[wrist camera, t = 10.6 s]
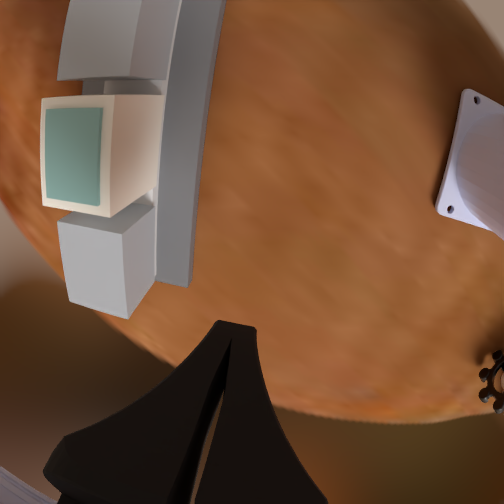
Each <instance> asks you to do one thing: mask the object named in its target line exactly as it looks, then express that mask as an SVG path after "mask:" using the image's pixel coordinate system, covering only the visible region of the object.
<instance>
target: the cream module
mask: <svg viewBox="0 0 504 504" xmlns="http://www.w3.org/2000/svg"><path fill="white" fill-rule="evenodd" d="M164 97H165V95H146V94H94V95H76V96H62V97H51V98H42V104H41V126H40V165H41V187H42V201H43V206H49V207H54V208H60V209H65V210H71V211H76V212H81V213H87V214H92V215H98V216H103V217H108V218H111V217H112V216H114V215H115V214H116V213H118V212H119V211H121V210H122V209H123V208H125V207H126V206H128V205H129V204H131V203H132V202H134V201H135V200H136V199H138V198H139V197H141V196H142V195H144V194H145V193H147V192H148V191H150V190H151V189H153V188H154V187H156V184H157V168H158V155H159V143H160V133H161V123H162V113H163V105H164Z"/></svg>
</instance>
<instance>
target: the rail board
mask: <svg viewBox="0 0 504 504" xmlns="http://www.w3.org/2000/svg"><path fill="white" fill-rule="evenodd" d="M225 5H226V0H70V4H69V8H68V13H67V17H66V22H65V28H64V33H63V39H62V45H61V51H60V58H59V66H58V75H57V81H64V80H83V88H82V95H94V94H146V95H165V97H164V105H163V113H162V123H161V133H160V143H159V155H158V168H157V184H156V187H154V188H153V189H151V190H150V191H148V192H147V193H145V194H144V195H142V196H141V197H139V198H138V199H136V200H135V201H134V202H132V203H131V204H129V205H128V206H126V207H125V208H123V209H122V210H121V211H119V212H118V213H116V214H115V215H114V216H112V217H111V218H108V217H103V216H98V215H92V214H87V213H81V212H76V211H73V212H71V213H70V214H68V215H66V216H65V217H63V218H62V219H60V220H58V221H57V224H58V233H59V241H60V249H61V256H62V262H63V269H64V275H65V280H66V286H67V291H68V295H69V300H70V302H73V303H76V304H80V305H82V306H85V307H88V308H92V309H95V310H98V311H101V312H105V313H108V314H111V315H115V316H118V317H121V318H125V319H129V317H130V316H131V314H132V313H133V311H134V310H135V309H136V307H137V306H138V304H139V303H140V301H141V300H142V298H143V297H144V296H145V294H146V293H147V291H148V290H149V289H150V287H151V286H152V284H153V283H154V282H155V281H159V282H164V283H168V284H173V285H177V286H182V287H186V288H188V286H189V285H190V283H191V281H192V272H193V257H194V243H195V230H196V218H197V207H198V196H199V186H200V176H201V167H202V158H203V149H204V141H205V132H206V125H207V117H208V109H209V102H210V95H211V88H212V81H213V75H214V68H215V62H216V56H217V50H218V44H219V38H220V32H221V27H222V21H223V16H224V10H225Z"/></svg>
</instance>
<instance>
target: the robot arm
mask: <svg viewBox="0 0 504 504" xmlns="http://www.w3.org/2000/svg"><path fill="white" fill-rule="evenodd" d="M474 97H476V98H477V104H476V103H475V102H474ZM450 205H451V210H450V211H447V208H448V206H450ZM435 209H436V211H437V212H438V213H439V214H441V215H443V216H447V217H450V218H453V219H456V220H460V221H463V222H466V223H469V224H472V225H475V226H478V227H481V228H484V229H487V230H490V231H493V232H494V233H496V234H497V235H498V236H499V237H500V238H502V239H503V240H504V107H503V106H502V105H500V104H498V103H496V102H495V101H493V100H491V99H489V98H487V97H485V96H483V95H482V94H480V93H478V92H476V91H474V90H472V89H464V90H463V91H462V94H461V100H460V106H459V111H458V117H457V122H456V127H455V131H454V136H453V141H452V145H451V149H450V153H449V157H448V161H447V165H446V169H445V173H444V176H443V180H442V184H441V187H440V190H439V194H438V197H437V200H436V204H435ZM256 334H257V330H256V329H255V327H252V326H247V325H242V324H237V323H232V322H227V321H222V320H218V321H216V322H215V323H214V325H213V326H212V328H211V329H210V331H209V332H208V333H207V335H206V336H205V337H204V338H203V340H202V341H201V342H200V343H199V345H198V346H197V347H196V348H195V349H194V350H193V351H192V352H191V353H190V355H189V356H188V357H187V358H186V359H185V360H184V361H183V362H182V363H181V364H180V365H179V366H178V367H177V368H176V369H175V370H173V371H172V372H171V373H170V374H169V375H168V376H167V377H166V378H165V379H164V380H162V381H161V382H160V383H159V384H158V385H157V386H155V387H154V388H152V389H151V390H150V391H148V392H147V393H146V394H144V395H143V396H141V397H140V398H139V399H137V400H136V401H134V402H133V403H131V404H130V405H128V406H127V407H125V408H123V409H122V410H120V411H118V412H116V413H114V414H112V415H110V416H109V417H107V418H105V419H103V420H101V421H99V422H97V423H95V424H93V425H91V426H88V427H86V428H84V429H81V430H79V431H76V432H74V433H71V434H68V435H66V436H64V438H63V439H62V440H61V441H60V443H59V444H58V445H57V447H56V448H55V449H54V451H53V452H52V454H51V456H50V458H49V460H48V462H47V463H46V466H45V467H44V469H43V474H44V476H45V478H46V479H47V480H48V481H49V482H50V483H51V484H52V485H53V486H54V487H56V488H57V489H58V490H59V491H60V492H61V493H62V494H61V496H60V499H59V501H58V502H56V501H55V500H53V499H51V498H49V497H48V496H46V495H44V494H42V493H41V492H39V491H37V490H35V489H34V488H32V487H31V486H29V485H27V484H26V483H24V482H23V481H21V480H20V479H18V478H17V477H15V476H14V475H13V474H11V473H9V472H8V471H7V470H5V469H4V468H2V467H1V466H0V504H190V502H191V498H192V493H193V489H194V485H195V481H196V477H197V472H198V468H199V464H200V460H201V456H202V452H203V448H204V445H205V442H206V438H207V436H208V433H209V430H210V427H211V425H212V421H213V419H214V416H215V413H216V410H217V408H218V405H219V402H220V399H221V396H222V393H223V391H224V395H223V402H222V406H221V410H220V413H219V417H218V421H217V425H216V428H215V432H214V436H213V440H212V443H211V446H210V450H209V454H208V457H207V461H206V464H205V468H204V471H203V474H202V478H201V481H200V484H199V488H198V491H197V494H196V498H195V504H328V501H327V498H326V497H325V496H324V495H323V493H322V492H321V491H320V490H319V488H318V487H317V486H316V484H315V483H314V481H313V480H312V479H311V477H310V476H309V475H308V473H307V472H306V470H305V469H304V467H303V465H302V464H301V462H300V461H299V459H298V457H297V456H296V454H295V452H294V450H293V449H292V447H291V446H290V443H289V441H288V440H287V438H286V436H285V434H284V432H283V430H282V428H281V425H280V423H279V421H278V419H277V416H276V414H275V411H274V409H273V406H272V404H271V401H270V398H269V395H268V392H267V389H266V385H265V382H264V378H263V374H262V370H261V366H260V361H259V356H258V349H257V336H256Z"/></svg>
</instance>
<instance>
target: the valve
mask: <svg viewBox="0 0 504 504" xmlns="http://www.w3.org/2000/svg"><path fill="white" fill-rule="evenodd" d="M492 358H493V360H494V362H495V364H494V366H493V367H492V368H491V369H488V368H483V369H482V370H481V371H480V372H479V377H480V379H481V381H482V382H485V380H487V387H486V388H483V389H481V390H480V392H479V398H480V400H481V401H482V402H483V403H486V402H488V400H487V399H488V398H489V397H493V398H495V399H496V401H495V402H494V404H493V409H494V410H495V412H496V413H498V414H499V413H502V412H503V411H504V355H503V353H502V351H501V350H497V351H496V352H494V353H493V355H492ZM500 368H501V370H502V372H503V374H502V376H501V378H500V379H501V386H502V388H503V392H502V393H499V392H497V391H496V390H495V388H494V378H495V375H496V373H497V372H498V370H499V369H500Z"/></svg>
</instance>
